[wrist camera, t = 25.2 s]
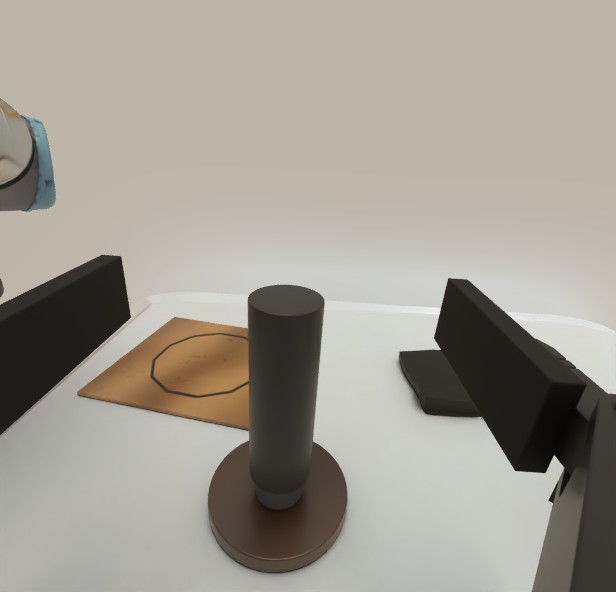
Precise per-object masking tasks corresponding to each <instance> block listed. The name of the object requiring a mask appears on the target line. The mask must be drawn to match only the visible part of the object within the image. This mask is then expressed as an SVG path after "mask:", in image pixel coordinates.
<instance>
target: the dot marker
mask: <svg viewBox="0 0 616 592" xmlns="http://www.w3.org/2000/svg"><path fill="white" fill-rule="evenodd" d="M324 303H325V302H324V299H323V297H322V296H321V295H320V294H319V293H318V292H315V291H313V290H311V289H308V288H305V287H301V286H294V285H274V286H267V287H263V288H260V289H257V290H255V291H254V292H252V293H251V294H250V295H249V297H248V363H249V456H250V475H251V478H252V480H253V482H254V483H255V492H256V495H257V498H258V499H259V501H260V502H261V503H262V504H263V505H265V506H266V507H268V508H271V509H276V510H281V509H286V508H289V507H291V506H293V505H294V504H295V503H297V501H298V500H299V499H300V497H301V496H302V493H303V487H304V483H305V482H306V480H307V479H308V477H309V474H310V466H311V455H312V443H313V431H314V420H315V408H316V396H317V385H318V373H319V361H320V350H321V338H322V326H323V315H324Z"/></svg>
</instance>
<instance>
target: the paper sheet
mask: <svg viewBox="0 0 616 592" xmlns="http://www.w3.org/2000/svg"><path fill="white" fill-rule="evenodd" d="M77 393H78V395H80V396H85V397H90V398H95V399H100V400H104V401H109V402H114V403H119V404H124V405H129V406H134V407H138V408H143V409H148V410H153V411H158V412H163V413H168V414H172V415H177V416H182V417H187V418H192V419H197V420H202V421H206V422H211V423H216V424H221V425H226V426H231V427H236V428H240V429H245V430H249V363H248V328H241V327H235V326H228V325H222V324H215V323H209V322H203V321H196V320H190V319H183V318H177V317H174V318H173V319H171V320H170V321H169V322H167V323H166V324H165V325H163V326H162V327H161V328H160V329H158V330H157V331H156V332H154V333H153V334H152V335H151V336H149V337H148V338H147V339H145V340H144V341H143V342H142V343H140V344H139V345H138V346H136V347H135V348H134V349H132V350H131V351H130V352H129V353H127V354H126V355H125V356H123V357H122V358H121V359H120V360H118V361H117V362H116V363H114V364H113V365H112V366H110V367H109V368H108V369H107V370H105V371H104V372H103V373H101V374H100V375H99V376H98V377H96V378H95V379H94V380H92V381H91V382H90V383H89V384H87V385H86V386H85V387H83V388H82V389H81V390H79V391H78V392H77Z"/></svg>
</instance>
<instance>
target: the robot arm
mask: <svg viewBox="0 0 616 592" xmlns="http://www.w3.org/2000/svg"><path fill="white" fill-rule="evenodd" d="M55 200H56V192H55V184H54V176H53V166H52V160H51V154H50V148H49V143H48V139H47V134H46V130H45V128H44V126H43V124H42V122H41V121H39V120H37V119H35V118H29V117H27V116H25V115H19V114H18V113H17V112H16V111H15V110H14V109H13V108H12V107H11V106H10V105H8V104H7V103H6V102H5V101H3V100H2V99H0V211H15V210H22V211H32V210H38V209H47V208H50V207H52V206H53V205H54V203H55ZM130 318H131V315H130V309H129V302H128V296H127V290H126V284H125V277H124V271H123V265H122V259H121V256H109V255H101V256H99V257H97V258H95V259H93V260H91V261H89V262H87V263H85V264H83V265H80V266H78V267H76V268H74V269H72V270H70V271H68V272H66V273H64V274H62V275H60V276H58V277H56V278H54V279H52V280H50V281H48V282H46V283H44V284H42V285H40V286H37V287H35V288H34V289H31V290H29V291H27V292H25V293H23V294H21V295H19V296H17V297H15V298H13V299H11V300H9V301H7V302H5V303H3V304H1V305H0V435H1V434H2V433H3V432H4V431H5V430H6V429H7V428H9V427H10V426H11V425H12V424H13V423H14V422H15V421H16V420H17V419H19V418H20V417H21V416H22V415H23V414H24V413H25V412H26V411H27V410H29V409H30V408H31V407H32V406H33V405H34V404H35V403H36V402H38V401H39V400H40V399H41V398H42V397H43V396H44V395H45V394H46V393H48V392H49V391H50V390H51V389H52V388H53V387H54V386H55V385H56V384H58V383H59V382H60V381H61V380H62V379H63V378H64V377H65V376H66V375H68V374H69V373H70V372H71V371H72V370H73V369H74V368H75V367H76V366H78V365H79V364H80V363H81V362H82V361H83V360H84V359H85V358H87V357H88V356H89V355H90V354H91V353H92V352H93V351H94V350H95V349H97V348H98V347H99V346H100V345H101V344H102V343H103V342H104V341H105V340H107V339H108V338H109V337H110V336H111V335H112V334H113V333H114V332H115V331H117V330H118V329H119V328H120V327H121V326H122V325H123V324H124V323H126V322H127V321H128V320H129V319H130ZM434 339H435V341H436V342H437V344H438V345H439V347H440V349H441V350H442V352H443V354H444V355H445V357H446V359H447V360H448V362H449V363H450V365H451V367H452V368H453V370H454V372H455V373H456V375H457V377H458V378H459V380H460V381H461V383H462V385H463V386H464V388H465V390H466V391H467V393H468V395H469V396H470V398H471V399H472V401H473V403H474V404H475V406H476V408H477V409H478V411H479V412H480V414H481V416H482V417H483V419H484V421H485V422H486V424H487V426H488V427H489V429H490V430H491V432H492V434H493V435H494V437H495V439H496V440H497V442H498V444H499V445H500V447H501V448H502V450H503V452H504V453H505V455H506V457H507V458H508V460H509V461H510V463H511V465H512V466H513V468H514V470H515V471H523V472H538V473H546V471H547V469H548V467H549V464H550V462H551V460H552V458H553V456H554V455H555V456H556V458H557V459H558V460H559V461H560V463H561V464H562V465H563V467H564V470H563V472H562V474H561V476H560V478H559V480H558V482H557V484H556V486H555V488H554V490H553V492H552V494H551V496H550V498H549V500H548V501H550V502H552V503H553V506H552V511H551V515H550V519H549V523H548V527H547V531H546V536H545V540H544V544H543V548H542V552H541V556H540V560H539V565H538V569H537V573H536V577H535V581H534V585H533V589H532V592H616V394H607V393H606V392H605V391H604V390H603V389H602V388H600V387H599V386H598V385H597V384H596V383H594V382H593V381H592V380H591V379H590V378H589V377H587V376H586V375H585V374H584V373H583V372H581V371H580V370H579V369H576V367H575V366H574V365H573V364H572V363H571V362H570V361H568V360H566V358H565V357H564V356H562V355H561V354H560V353H559V352H558V351H557V350H555V349H554V348H553V347H551V346H549V345H547V344H545V343H543V342H541V341H540V340H538V339H535V338H534V337H532V336H531V335H530V334H529V333H528V332H527V331H526V330H524V329H523V328H522V327H521V326H520V325H519V324H518V323H516V322H515V321H514V320H513V319H512V318H511V317H510V316H508V315H507V314H506V313H505V312H504V311H503V310H502V309H500V308H499V307H498V306H497V305H496V304H495V303H493V302H492V301H491V300H490V299H489V298H488V297H487V296H485V295H484V294H483V293H482V292H481V291H480V290H479V289H478V288H476V287H475V286H474V285H473V284H472V283H471V282H470V281H468V280H464V279H451V278H449V279H448V282H447V286H446V290H445V294H444V298H443V303H442V307H441V311H440V315H439V319H438V324H437V328H436V332H435V336H434Z"/></svg>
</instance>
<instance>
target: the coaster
mask: <svg viewBox="0 0 616 592" xmlns="http://www.w3.org/2000/svg"><path fill="white" fill-rule="evenodd" d="M346 505H347V486H346V482H345V478H344V475H343V473H342V470H341V469H340V467H339V465H338V463H337V462H336V461H335V459H334V458H333V457H332V456H331V455H330V454H329V453H328V452H327V451H326V450H325V449H324V448H323V447H321V446H320V445H318V444H317V443H315V442H313V443H312V455H311V466H310V474H309V477H308V479H307V480H306V482H305V483H304V487H303V493H302V496H301V497H300V499H299V500H298V501H297V503H295V504H294V505H293V506H291V507H289V508H286V509H281V510H276V509H271V508H268V507H266V506H265V505H263V504H262V503H261V502H260V501H259V499H258V498H257V495H256V492H255V483H254V482H253V480H252V478H251V475H250V456H249V441H247V442H245V443H243V444H241V445H240V446H238V447H237V448H235V449H234V450H233V451H232V452H230V453H229V454H228V455H227V456H226V457H225V458H224V460H223V461H222V462H221V463H220V465H219V466H218V468H217V470H216V471H215V473H214V476H213V478H212V481H211V484H210V487H209V494H208V508H209V518H210V524H211V527H212V530H213V533H214V535H215V537H216V539H217V541H218V543H219V544H220V546H221V547H222V548H223V549H224V550H225V552H226V553H227V554H228V555H229V556H231V557H232V558H233V559H235V560H236V561H237V562H239V563H241V564H243V565H244V566H246V567H249V568H252V569H255V570H258V571H263V572H276V573H277V572H287V571H291V570H295V569H299V568H301V567H303V566H306V565H308V564H310V563H311V562H313V561H315V560H316V559H318V558H319V557H320V556H321V555H323V554H324V553H325V552H326V551H327V550H328V549H329V548H330V547H331V545H332V544H333V543H334V541H335V540H336V538H337V536H338V534H339V532H340V530H341V528H342V525H343V522H344V518H345V512H346Z"/></svg>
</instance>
